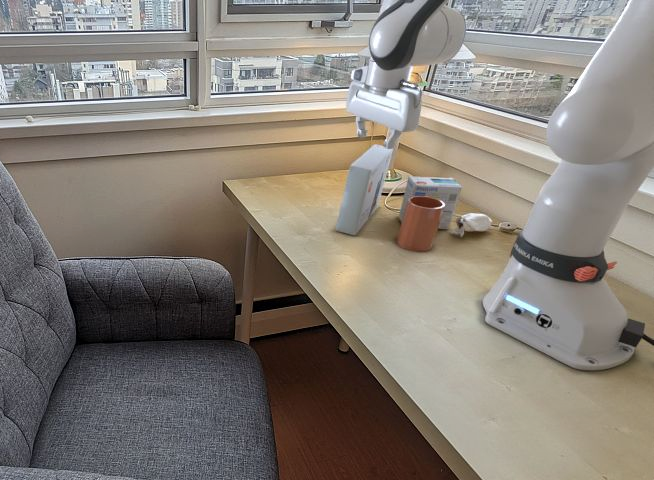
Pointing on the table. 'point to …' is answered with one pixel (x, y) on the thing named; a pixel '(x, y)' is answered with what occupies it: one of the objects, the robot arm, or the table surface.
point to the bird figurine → (472, 223)
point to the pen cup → (420, 223)
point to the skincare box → (363, 189)
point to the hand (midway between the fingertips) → (374, 142)
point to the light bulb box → (434, 195)
